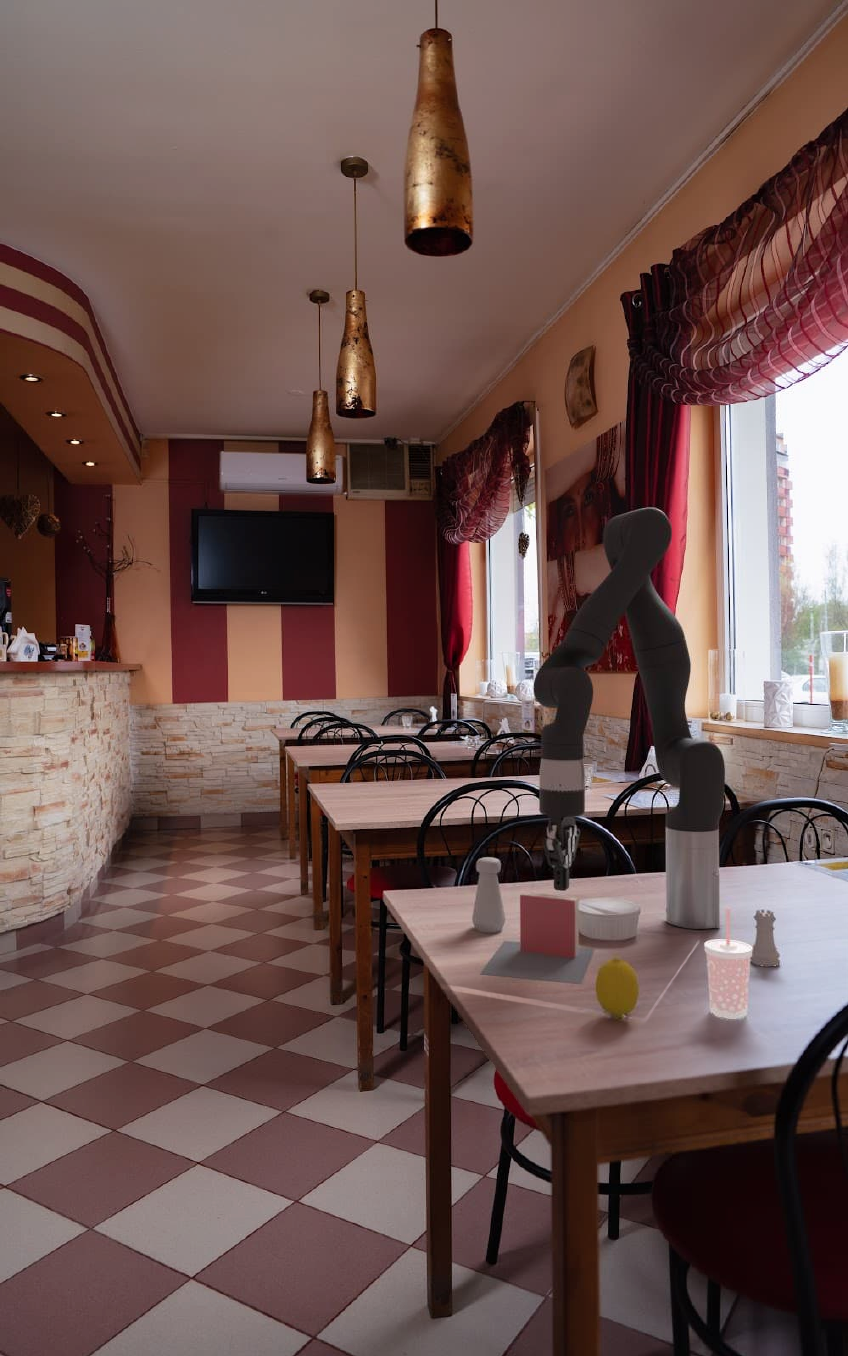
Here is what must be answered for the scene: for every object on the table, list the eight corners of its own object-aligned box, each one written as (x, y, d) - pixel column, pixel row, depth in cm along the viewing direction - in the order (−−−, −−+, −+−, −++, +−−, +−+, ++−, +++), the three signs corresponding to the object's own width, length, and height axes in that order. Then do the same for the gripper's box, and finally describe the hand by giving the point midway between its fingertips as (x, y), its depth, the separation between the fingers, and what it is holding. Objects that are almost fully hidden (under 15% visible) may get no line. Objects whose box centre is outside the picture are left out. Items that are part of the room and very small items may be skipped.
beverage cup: (706, 1001, 122) (706, 900, 122) (753, 1008, 120) (753, 904, 120) (702, 1018, 117) (701, 911, 117) (751, 1024, 114) (751, 916, 114)
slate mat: (594, 952, 144) (594, 948, 144) (581, 987, 128) (581, 983, 128) (504, 944, 149) (504, 940, 149) (479, 977, 133) (479, 973, 133)
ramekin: (568, 941, 151) (567, 910, 151) (581, 924, 161) (581, 895, 161) (635, 948, 146) (635, 916, 146) (644, 930, 157) (644, 900, 157)
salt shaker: (503, 938, 152) (502, 862, 152) (470, 936, 154) (469, 861, 153) (507, 928, 158) (506, 855, 158) (475, 926, 159) (474, 854, 159)
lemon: (590, 1011, 119) (590, 951, 119) (631, 1009, 120) (630, 950, 120) (602, 1027, 114) (602, 965, 114) (644, 1025, 114) (644, 963, 114)
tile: (525, 946, 146) (525, 891, 146) (578, 954, 142) (578, 897, 141) (520, 950, 144) (520, 895, 143) (574, 958, 139) (573, 901, 139)
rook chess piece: (766, 969, 136) (766, 917, 136) (743, 961, 140) (743, 910, 139) (786, 964, 138) (786, 913, 138) (763, 956, 142) (763, 906, 142)
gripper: (571, 791, 141) (570, 900, 141) (595, 783, 153) (594, 883, 153) (526, 788, 145) (526, 895, 145) (553, 780, 156) (553, 879, 156)
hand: (561, 889), depth 149 cm, fingers closed
